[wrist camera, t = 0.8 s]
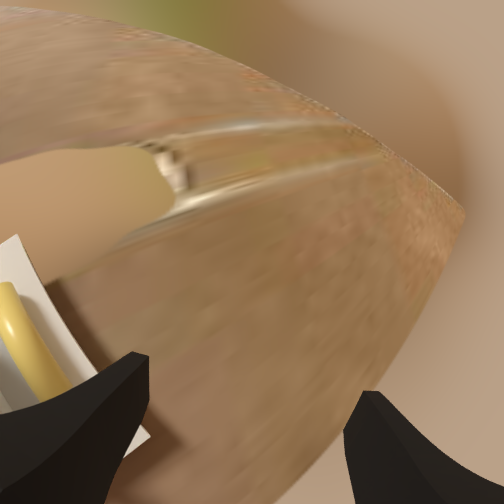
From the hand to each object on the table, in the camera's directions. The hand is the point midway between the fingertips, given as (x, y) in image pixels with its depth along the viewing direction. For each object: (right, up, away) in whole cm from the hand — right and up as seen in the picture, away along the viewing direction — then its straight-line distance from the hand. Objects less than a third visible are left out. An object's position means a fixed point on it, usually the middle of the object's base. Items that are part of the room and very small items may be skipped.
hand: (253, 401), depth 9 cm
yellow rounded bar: (-16, -2, +8) cm, 18 cm away
